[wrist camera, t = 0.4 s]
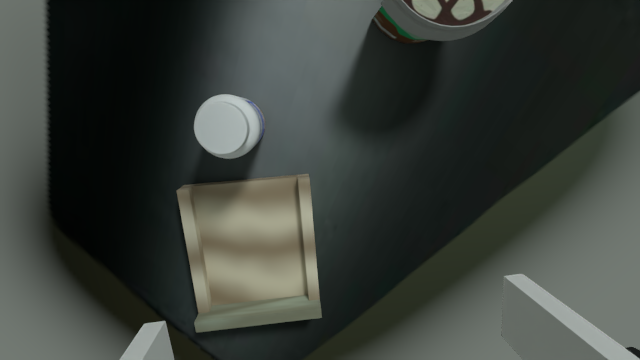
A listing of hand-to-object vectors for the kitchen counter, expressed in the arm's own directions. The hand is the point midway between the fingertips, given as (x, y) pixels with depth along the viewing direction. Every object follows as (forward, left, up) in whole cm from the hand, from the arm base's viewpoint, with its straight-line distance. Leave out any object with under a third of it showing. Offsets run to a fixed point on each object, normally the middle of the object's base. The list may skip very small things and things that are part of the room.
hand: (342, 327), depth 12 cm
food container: (-16, +13, -24) cm, 32 cm away
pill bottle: (-7, -7, -24) cm, 26 cm away
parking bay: (+6, -7, -24) cm, 26 cm away
